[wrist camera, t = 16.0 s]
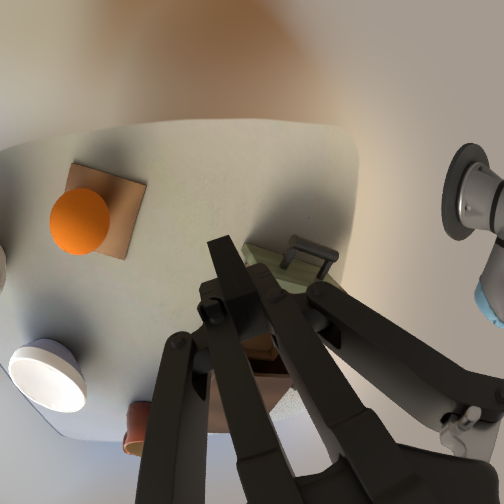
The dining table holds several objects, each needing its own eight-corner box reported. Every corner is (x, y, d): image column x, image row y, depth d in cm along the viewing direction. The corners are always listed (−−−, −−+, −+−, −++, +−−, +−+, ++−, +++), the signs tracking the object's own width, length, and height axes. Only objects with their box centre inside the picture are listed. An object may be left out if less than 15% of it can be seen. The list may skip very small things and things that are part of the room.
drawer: (258, 212, 34) (283, 238, 27) (335, 243, 40) (369, 270, 33) (201, 338, 41) (210, 380, 33) (273, 349, 46) (291, 385, 39)
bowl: (74, 390, 39) (69, 421, 33) (14, 352, 32) (2, 381, 26) (104, 357, 38) (100, 392, 31) (33, 309, 31) (17, 341, 24)
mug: (139, 392, 43) (141, 437, 35) (172, 408, 48) (178, 449, 39) (108, 412, 44) (107, 451, 35) (139, 426, 49) (142, 463, 40)
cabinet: (205, 328, 40) (215, 372, 33) (278, 340, 46) (298, 377, 38) (177, 392, 46) (182, 431, 38) (239, 398, 51) (251, 432, 44)
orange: (128, 196, 28) (93, 208, 21) (113, 252, 30) (81, 276, 23) (81, 176, 27) (42, 184, 20) (70, 230, 29) (34, 248, 22)
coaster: (146, 185, 29) (146, 186, 29) (124, 259, 32) (124, 260, 32) (72, 162, 25) (71, 163, 25) (57, 238, 28) (56, 239, 28)
